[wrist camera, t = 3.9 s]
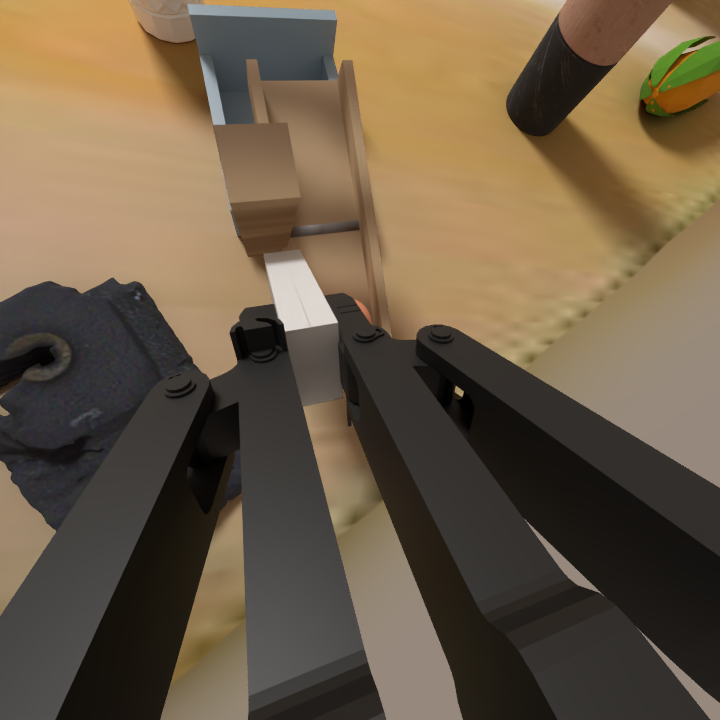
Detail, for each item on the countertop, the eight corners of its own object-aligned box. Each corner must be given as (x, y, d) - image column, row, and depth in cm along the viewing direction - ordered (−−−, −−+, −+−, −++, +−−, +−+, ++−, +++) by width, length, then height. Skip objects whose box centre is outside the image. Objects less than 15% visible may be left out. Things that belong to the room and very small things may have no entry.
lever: (386, 347, 26) (480, 373, 15) (272, 370, 24) (276, 421, 13) (349, 90, 23) (430, -133, 12) (214, 92, 21) (148, -177, 10)
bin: (360, 223, 34) (378, 174, 27) (237, 236, 31) (223, 185, 25) (326, 87, 36) (334, 10, 29) (208, 88, 33) (187, 4, 27)
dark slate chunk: (93, 605, 25) (48, 646, 20) (-66, 359, 25) (-144, 345, 21) (273, 472, 29) (270, 482, 24) (131, 264, 30) (102, 235, 25)
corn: (676, 29, 38) (772, -3, 43) (611, 89, 45) (700, 56, 50) (707, 88, 38) (799, 49, 43) (637, 139, 45) (723, 100, 50)
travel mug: (511, 137, 40) (715, -126, 21) (497, 82, 41) (679, -216, 22) (565, 139, 42) (799, -103, 23) (550, 86, 43) (762, -187, 24)
